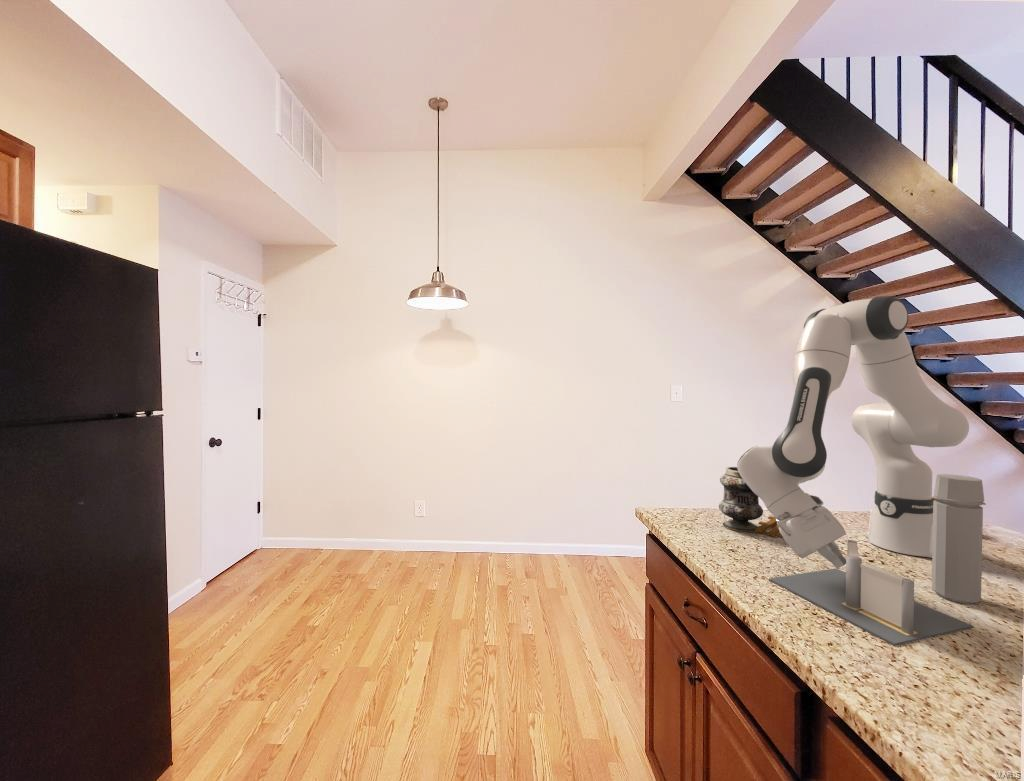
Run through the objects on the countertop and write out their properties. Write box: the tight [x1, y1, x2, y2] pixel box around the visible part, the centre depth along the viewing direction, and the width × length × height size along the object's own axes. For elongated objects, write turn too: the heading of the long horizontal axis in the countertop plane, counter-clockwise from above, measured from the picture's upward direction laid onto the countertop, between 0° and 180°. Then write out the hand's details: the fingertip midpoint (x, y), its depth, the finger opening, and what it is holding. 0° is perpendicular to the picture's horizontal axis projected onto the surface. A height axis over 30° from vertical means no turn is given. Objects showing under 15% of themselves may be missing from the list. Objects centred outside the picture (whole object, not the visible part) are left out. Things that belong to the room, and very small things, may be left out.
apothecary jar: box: [718, 466, 764, 533], centre depth 132 cm, size 12×12×18 cm
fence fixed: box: [845, 555, 915, 634], centre depth 80 cm, size 2×11×10 cm, turn 16°
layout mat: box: [768, 567, 974, 647], centre depth 87 cm, size 20×25×1 cm
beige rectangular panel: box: [846, 539, 860, 558], centre depth 91 cm, size 2×11×9 cm, turn 143°
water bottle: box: [931, 473, 987, 605], centre depth 90 cm, size 9×8×25 cm
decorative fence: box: [754, 515, 784, 539], centre depth 133 cm, size 25×2×10 cm
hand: (842, 565), depth 93 cm, fingers closed
